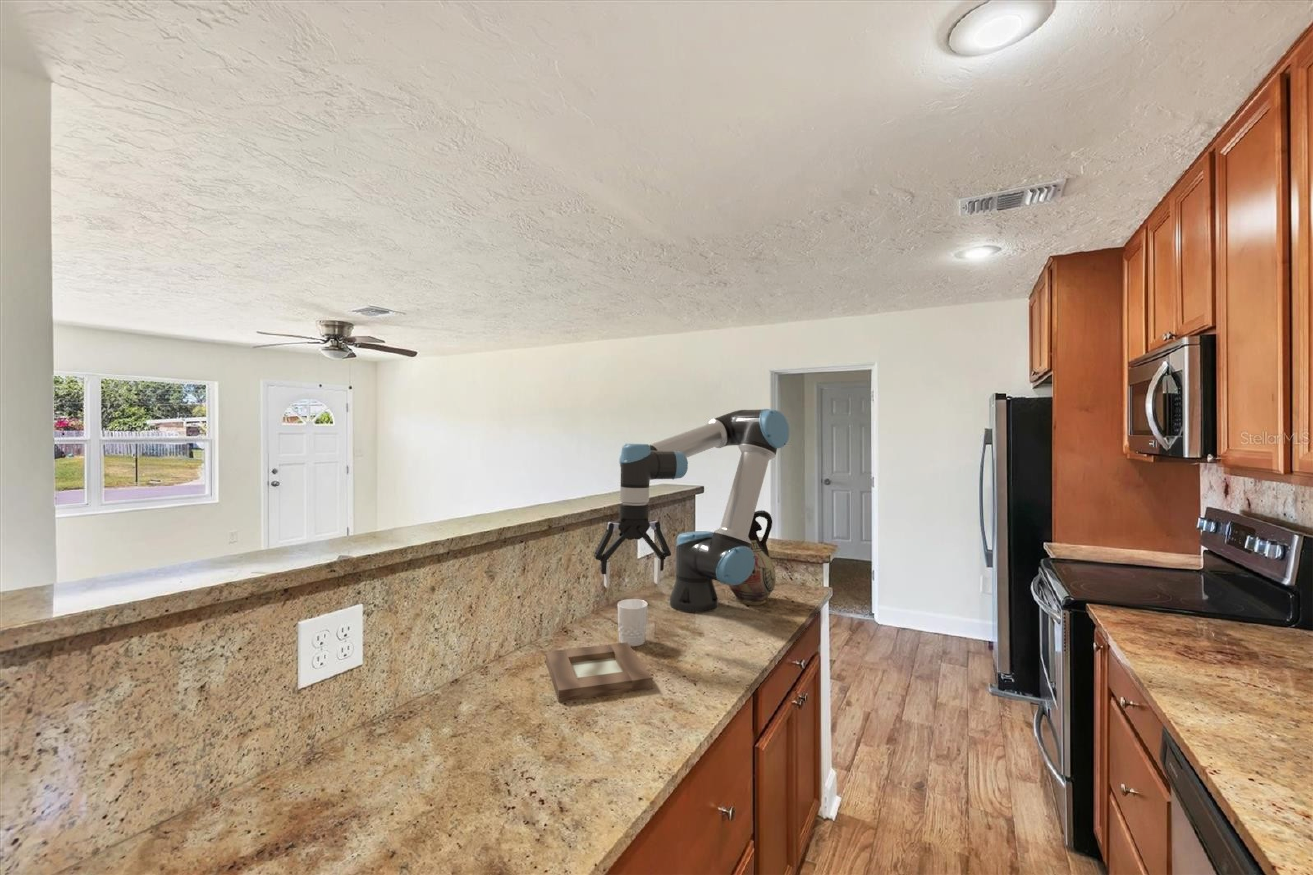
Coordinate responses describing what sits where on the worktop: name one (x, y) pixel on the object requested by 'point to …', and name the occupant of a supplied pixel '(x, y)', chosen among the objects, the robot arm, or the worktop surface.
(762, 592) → the ceramic jug
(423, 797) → the worktop surface
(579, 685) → the wooden picture frame
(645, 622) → the white cup
